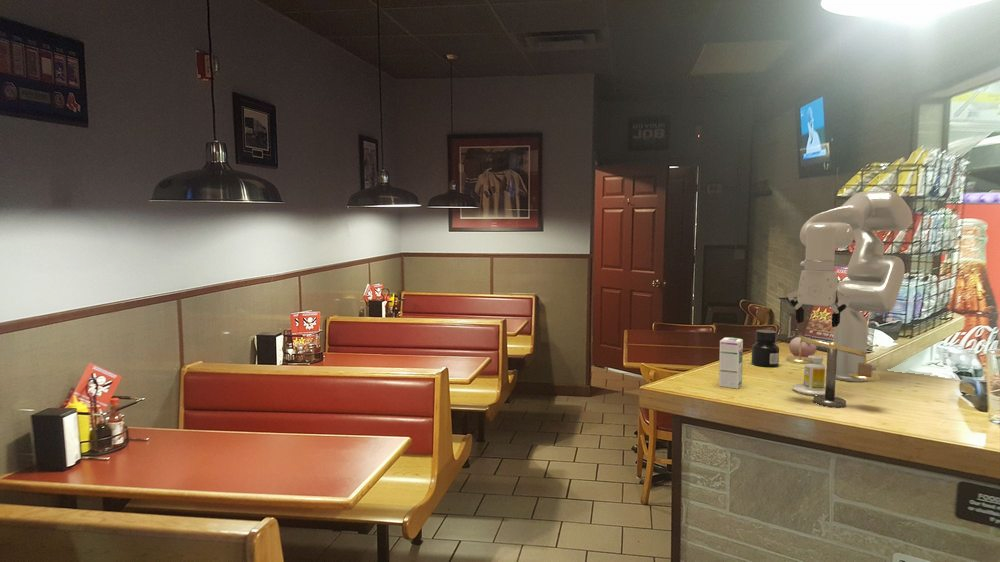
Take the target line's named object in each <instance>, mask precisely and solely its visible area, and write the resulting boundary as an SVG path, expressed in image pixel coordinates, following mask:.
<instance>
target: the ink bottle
mask: <svg viewBox="0 0 1000 562" xmlns="http://www.w3.org/2000/svg"><path fill="white" fill-rule="evenodd" d="M777 333H778V332H777V331H776V330H771V329H756V330H755V342H754V343H753V344H752V346H751V364H752V365H754V366H758V367H766V368H767V367H768V368H774V367H778V366H779V365H780V364H779V363H780V361H779V360H780V347H779V346H778V345H777V337H778V334H777Z"/></svg>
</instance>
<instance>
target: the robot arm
mask: <svg viewBox="0 0 1000 562" xmlns="http://www.w3.org/2000/svg"><path fill="white" fill-rule="evenodd" d="M912 220H913V215H912V211H911V208H910V206H909V205H908V204H907V202H906V201H905V200H904V198H903V197H902V196H901V195H900V194H899V193H897V192H895V191H893V190H872V191H871V190H867V191H859V192H856V193H854V194H852V195H851V197H849V198H848V199H847V200H846V201H845V202H843V204H842V205H840V206H839V207H835V208H832V209H829V210H826V211H823V212H819V213H817V214H815V215H813V216H811V217H810V218H809V219H808V220H807V221H806V222H805V223H804V224H803V225H802V227H801V228H800V233H799V240H800V242H801V244H802V245H803V246H805V259H804V261H800V264H799V265H800V267H804V268H803V269H804V270H803V269H802V270H801V272H800V277H799V281H798V288H797V289H796V290H794V291H792V292H789V293H787V294H786V296H787V298H788V300H789V302H790V304H791V306H793V309H794V310H795V320H796V323H797V324H800V323H804V319H805V318H804V317H805V309H804V308H803V307H804V306H816V307H817V306H818V307H826V308H827V307H828V308H831V310H832V311H833V312H832V313H831V328H833V338H832V339H833V340H832V342H835V343H837V345H839V346H844V347H848V348H852V349H856V350H860V351H865V352H866V353H867V350H868V349H867V347H868V332H869V331H868V330H869V324H868V321H867V319H866V317H865V316H864V315H863V313H862V312H868V313H881V314H885V313H886V314H887V313H890V312H891V311H892V310H893V309H894V308H895V305H896V302H897V299H898V296H899V294H900V290H901V287H902V285H903V281H904V278H905V269H906V267H905V263H904V261H903V260H902V258H901V257H899V256H896V255H886V254H885V248H886V247H885V245H884V242H883V241H882V240H881V239H880V237H879V236H878V235H876V234H875V232H900V231H901V232H902V231H906V230H907V229H909V227H910V226H911V224H912ZM853 241H855V245H854V246H855V247H854V249H853V251H852V253H851V257H850V259H849V262H848V265H847V269H846V276H847V279H848V280H845V279H844V280H842V281H841V280H840V281H839V279H838V274H837V271H835V256H836V255H835V251H836V249H843V248H847V247H849V246H850V245H851V244H852V243H853ZM796 296H797V300H796V298H795V297H796ZM865 357H867V355H866V356H865ZM858 363H864V357H863V356H859V355H855V354H851V353H847V352H842V351H838V350H837V366H836V380H840V381H846V382H859V383H860V382H863V383H864V382H868V381H867V380H859V379H855V378H852V377H850V376H849V374H850V373H852V372H858ZM871 365H872V372H873V371H875V372H876V370H877V366H876V365H875V364H871Z"/></svg>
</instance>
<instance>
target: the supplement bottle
mask: <svg viewBox="0 0 1000 562" xmlns="http://www.w3.org/2000/svg"><path fill="white" fill-rule="evenodd" d="M808 358H811V359H813V360H814V363H811V364H804V373H803V384H804V388H806V389H808V390H817V391H821V390H823V389H824V386H825V378H826V366H825V364H824V363H823V362H824V357H823V356H821V355H815V354H814V355H810V356H808Z"/></svg>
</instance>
